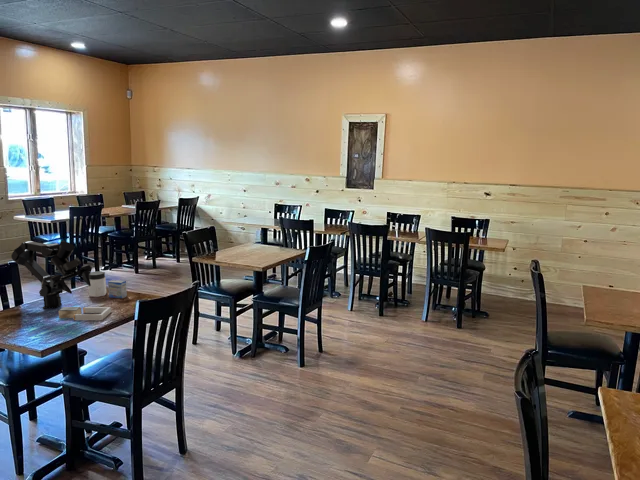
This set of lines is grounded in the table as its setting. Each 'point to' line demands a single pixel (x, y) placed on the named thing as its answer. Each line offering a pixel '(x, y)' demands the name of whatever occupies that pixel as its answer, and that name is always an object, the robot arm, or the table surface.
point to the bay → (102, 310)
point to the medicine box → (117, 289)
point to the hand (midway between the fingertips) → (81, 289)
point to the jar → (97, 284)
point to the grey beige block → (69, 312)
